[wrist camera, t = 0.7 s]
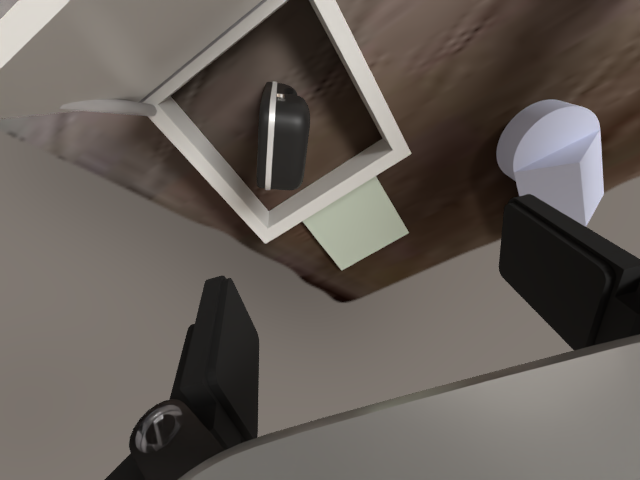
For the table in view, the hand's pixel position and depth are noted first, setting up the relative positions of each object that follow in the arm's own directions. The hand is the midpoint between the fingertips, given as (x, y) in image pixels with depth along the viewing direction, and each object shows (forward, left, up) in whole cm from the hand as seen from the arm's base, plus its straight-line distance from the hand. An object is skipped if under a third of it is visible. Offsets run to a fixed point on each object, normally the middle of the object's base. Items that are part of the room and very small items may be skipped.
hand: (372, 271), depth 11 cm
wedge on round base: (-19, +19, -27) cm, 38 cm away
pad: (+3, +14, -27) cm, 30 cm away
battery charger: (+3, -1, -27) cm, 27 cm away
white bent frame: (+3, -2, -27) cm, 27 cm away
